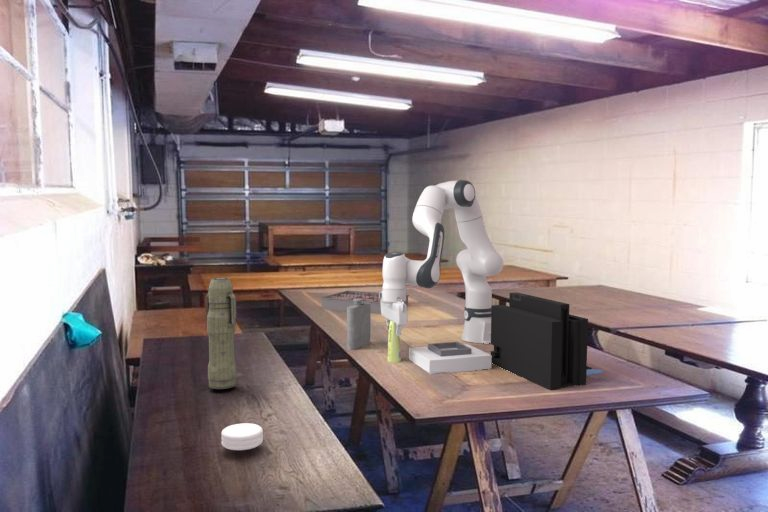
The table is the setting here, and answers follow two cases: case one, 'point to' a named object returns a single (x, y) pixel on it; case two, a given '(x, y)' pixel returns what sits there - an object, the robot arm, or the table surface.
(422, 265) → the robot arm
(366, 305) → the hip flask
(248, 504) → the table surface
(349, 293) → the organizer tray
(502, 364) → the game console
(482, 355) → the white box with hole
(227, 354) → the thermos
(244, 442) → the coaster
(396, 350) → the tube
